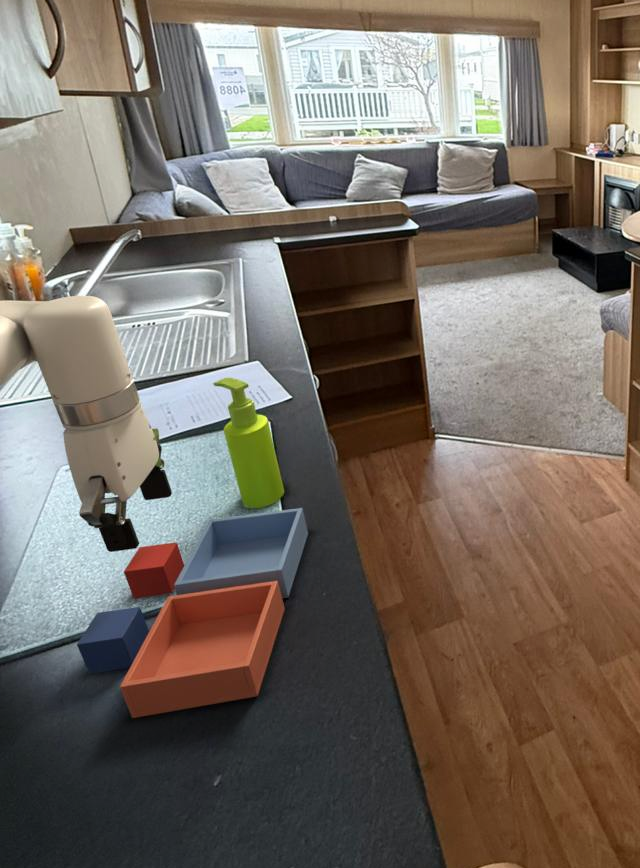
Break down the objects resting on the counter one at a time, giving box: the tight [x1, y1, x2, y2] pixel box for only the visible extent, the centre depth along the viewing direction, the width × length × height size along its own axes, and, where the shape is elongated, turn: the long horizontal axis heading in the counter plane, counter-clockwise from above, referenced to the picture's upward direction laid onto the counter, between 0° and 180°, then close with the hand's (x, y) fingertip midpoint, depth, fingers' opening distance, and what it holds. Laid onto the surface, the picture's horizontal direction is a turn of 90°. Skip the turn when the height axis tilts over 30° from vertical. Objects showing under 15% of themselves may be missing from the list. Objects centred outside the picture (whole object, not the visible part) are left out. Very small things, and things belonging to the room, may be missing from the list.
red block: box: [123, 542, 185, 600], centre depth 84 cm, size 4×4×4 cm
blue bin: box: [174, 507, 309, 599], centre depth 86 cm, size 12×12×5 cm
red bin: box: [119, 581, 286, 719], centre depth 73 cm, size 12×12×5 cm
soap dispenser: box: [212, 377, 285, 509], centre depth 98 cm, size 6×7×20 cm
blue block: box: [76, 606, 150, 675], centre depth 74 cm, size 4×4×4 cm
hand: (142, 521), depth 81 cm, fingers open, 9 cm apart
